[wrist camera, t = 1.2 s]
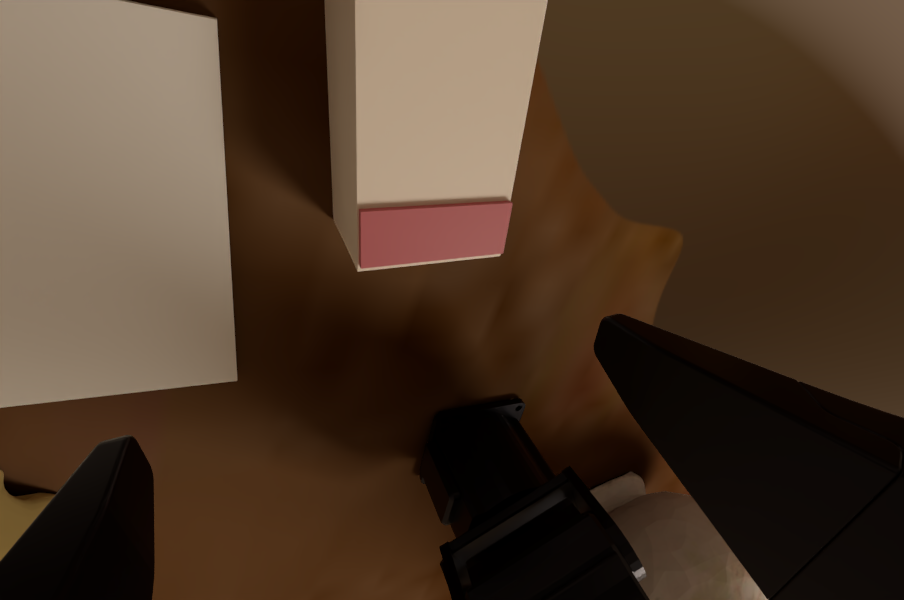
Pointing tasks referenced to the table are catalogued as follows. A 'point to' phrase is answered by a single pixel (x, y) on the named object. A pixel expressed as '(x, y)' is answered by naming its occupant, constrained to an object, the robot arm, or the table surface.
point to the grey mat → (111, 202)
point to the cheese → (17, 514)
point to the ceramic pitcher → (675, 544)
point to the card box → (427, 124)
